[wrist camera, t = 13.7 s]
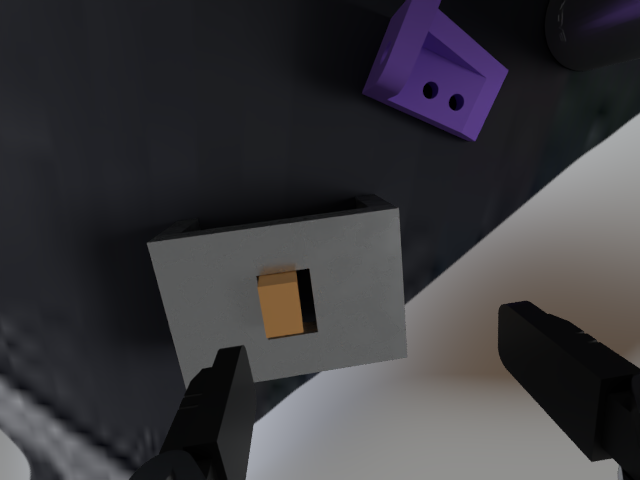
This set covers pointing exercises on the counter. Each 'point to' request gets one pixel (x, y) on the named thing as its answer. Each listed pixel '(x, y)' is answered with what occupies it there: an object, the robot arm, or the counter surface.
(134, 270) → the counter surface
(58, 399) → the counter surface
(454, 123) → the bracket
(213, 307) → the grey slotted platform
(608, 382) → the robot arm
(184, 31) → the counter surface
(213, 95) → the counter surface
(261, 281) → the orange rectangular block
